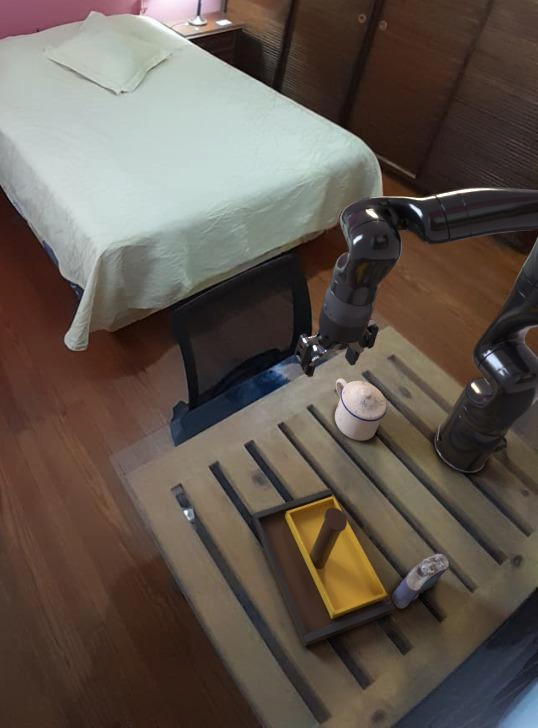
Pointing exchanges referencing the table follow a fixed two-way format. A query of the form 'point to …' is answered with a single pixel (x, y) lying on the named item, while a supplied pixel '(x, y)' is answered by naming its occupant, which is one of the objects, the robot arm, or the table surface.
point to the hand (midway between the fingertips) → (328, 367)
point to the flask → (420, 579)
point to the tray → (334, 557)
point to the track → (305, 577)
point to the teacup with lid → (359, 409)
